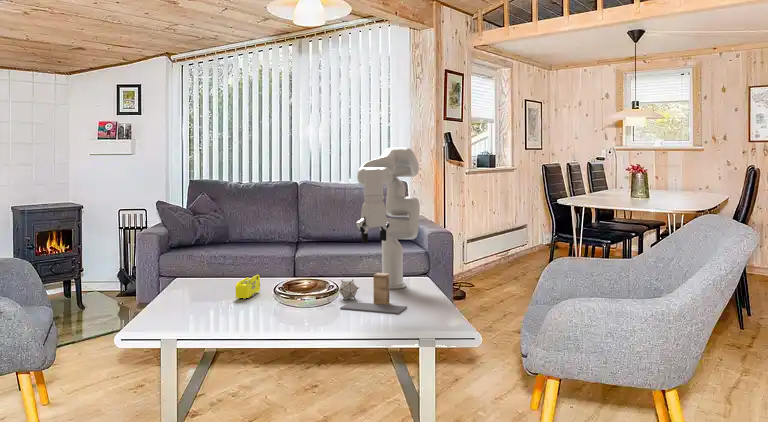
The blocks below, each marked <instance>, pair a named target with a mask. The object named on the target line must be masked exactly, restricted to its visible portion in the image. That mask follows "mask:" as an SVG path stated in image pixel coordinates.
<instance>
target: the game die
mask: <svg viewBox="0 0 768 422" xmlns="http://www.w3.org/2000/svg"><path fill="white" fill-rule="evenodd" d="M358 289H360V287H358V286H357V285H356V284H355V282H354V279H352V280H347V281H344V280H342V279H341V284H340V287H339V290H338V291H339V292H338V293H340V295H341V296H342V297H343V299H342V300H343V301H344V300H345V299H354V300H356V294H357V292H358Z"/></svg>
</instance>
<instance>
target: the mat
mask: <svg viewBox="0 0 768 422" xmlns="http://www.w3.org/2000/svg"><path fill="white" fill-rule="evenodd" d="M407 308H408V306H406V305H394V304H387V305H385V304H374V302H373V303H371V302H370V303H369V302H362V301H359V302H357V301H350V302H348V303H346V304H344V305H342V306H340V308H339V309H340V310H344V311H345V310H347V311H355V312H356V311H359V312H368V313H381V314H389V315H390V314H392V315H400V314H401V313H402V312H404V311H405V310H406V309H407Z"/></svg>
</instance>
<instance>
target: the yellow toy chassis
mask: <svg viewBox="0 0 768 422" xmlns="http://www.w3.org/2000/svg"><path fill="white" fill-rule="evenodd" d="M260 291H261V277H260V275H259V274H256V275H254V276H252V277H251V278H250V277H249V276H248V277H245V278H243V279H242V280H241V279H240V280H239V281H238V282H237V283H236V284H235V298H236V299H239V298H243V299H242V300H246V299H245V298H249V299H250V297H254V296H256V295H257V294H256V293H258V292H260Z"/></svg>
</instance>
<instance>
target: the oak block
mask: <svg viewBox="0 0 768 422" xmlns="http://www.w3.org/2000/svg"><path fill="white" fill-rule="evenodd" d="M373 304H385V305H389V304H390V289H389V274H387V273H382V272H377V273H375V274H373Z"/></svg>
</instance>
